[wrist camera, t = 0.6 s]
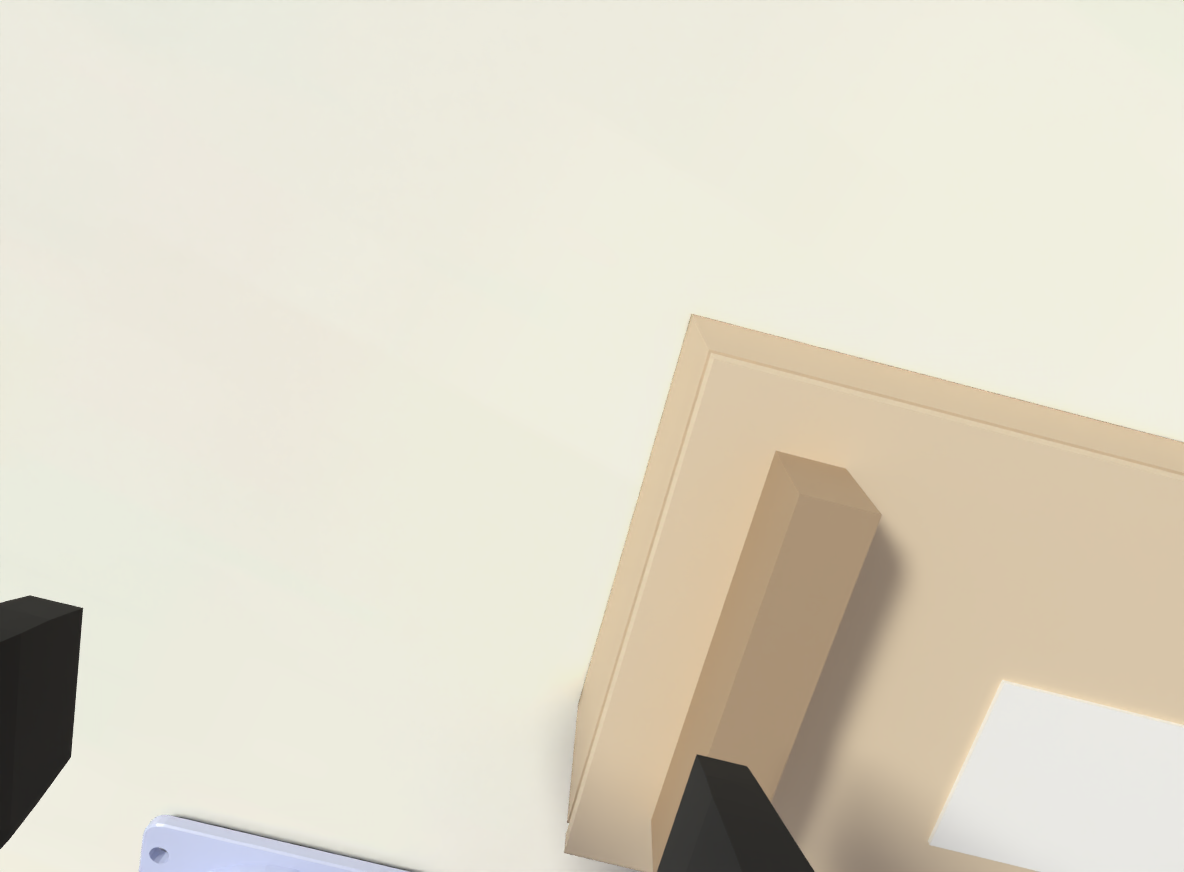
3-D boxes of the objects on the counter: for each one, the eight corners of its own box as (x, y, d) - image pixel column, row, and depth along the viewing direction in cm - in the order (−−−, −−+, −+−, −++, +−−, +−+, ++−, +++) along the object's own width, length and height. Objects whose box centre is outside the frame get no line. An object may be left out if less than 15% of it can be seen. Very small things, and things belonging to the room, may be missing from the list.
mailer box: (578, 704, 21) (566, 822, 17) (691, 313, 18) (709, 349, 14) (1113, 835, 21) (1220, 978, 17) (1308, 475, 18) (1488, 552, 14)
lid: (566, 833, 17) (555, 943, 14) (710, 353, 14) (728, 387, 11) (1230, 991, 17) (1329, 1123, 15) (1505, 559, 14) (1684, 635, 12)
